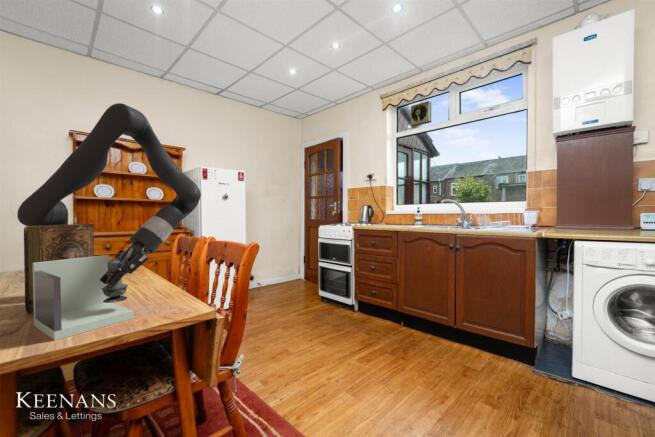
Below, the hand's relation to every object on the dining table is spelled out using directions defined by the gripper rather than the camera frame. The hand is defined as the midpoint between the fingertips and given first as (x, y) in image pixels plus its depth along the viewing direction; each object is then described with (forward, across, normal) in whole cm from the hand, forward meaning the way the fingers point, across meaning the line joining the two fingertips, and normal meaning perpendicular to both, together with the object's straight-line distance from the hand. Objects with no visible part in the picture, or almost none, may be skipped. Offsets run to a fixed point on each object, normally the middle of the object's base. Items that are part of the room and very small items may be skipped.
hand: (106, 283), depth 77 cm
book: (+9, -24, +5) cm, 26 cm away
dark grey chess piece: (+2, 0, +5) cm, 6 cm away
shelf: (+10, -3, +4) cm, 11 cm away
